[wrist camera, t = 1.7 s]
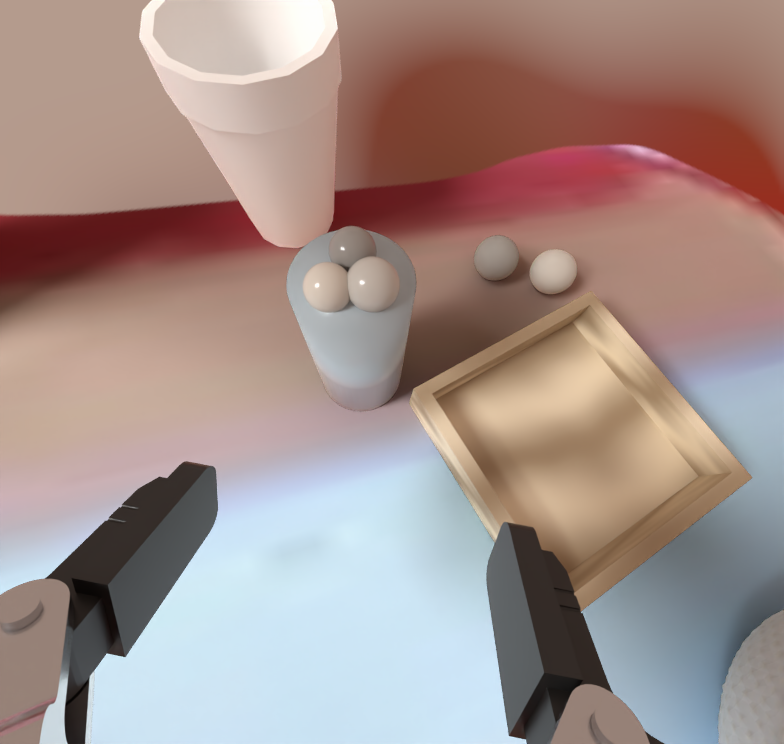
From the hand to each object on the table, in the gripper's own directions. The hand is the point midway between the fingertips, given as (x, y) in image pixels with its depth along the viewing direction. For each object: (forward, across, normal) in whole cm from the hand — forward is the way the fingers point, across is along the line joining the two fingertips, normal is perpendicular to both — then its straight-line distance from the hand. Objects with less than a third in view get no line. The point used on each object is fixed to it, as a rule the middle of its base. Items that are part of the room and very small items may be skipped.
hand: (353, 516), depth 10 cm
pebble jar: (+16, +2, +3) cm, 16 cm away
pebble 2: (+23, -10, -4) cm, 25 cm away
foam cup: (+24, +10, -5) cm, 27 cm away
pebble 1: (+23, -6, -4) cm, 24 cm away
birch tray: (+14, -11, +5) cm, 19 cm away
